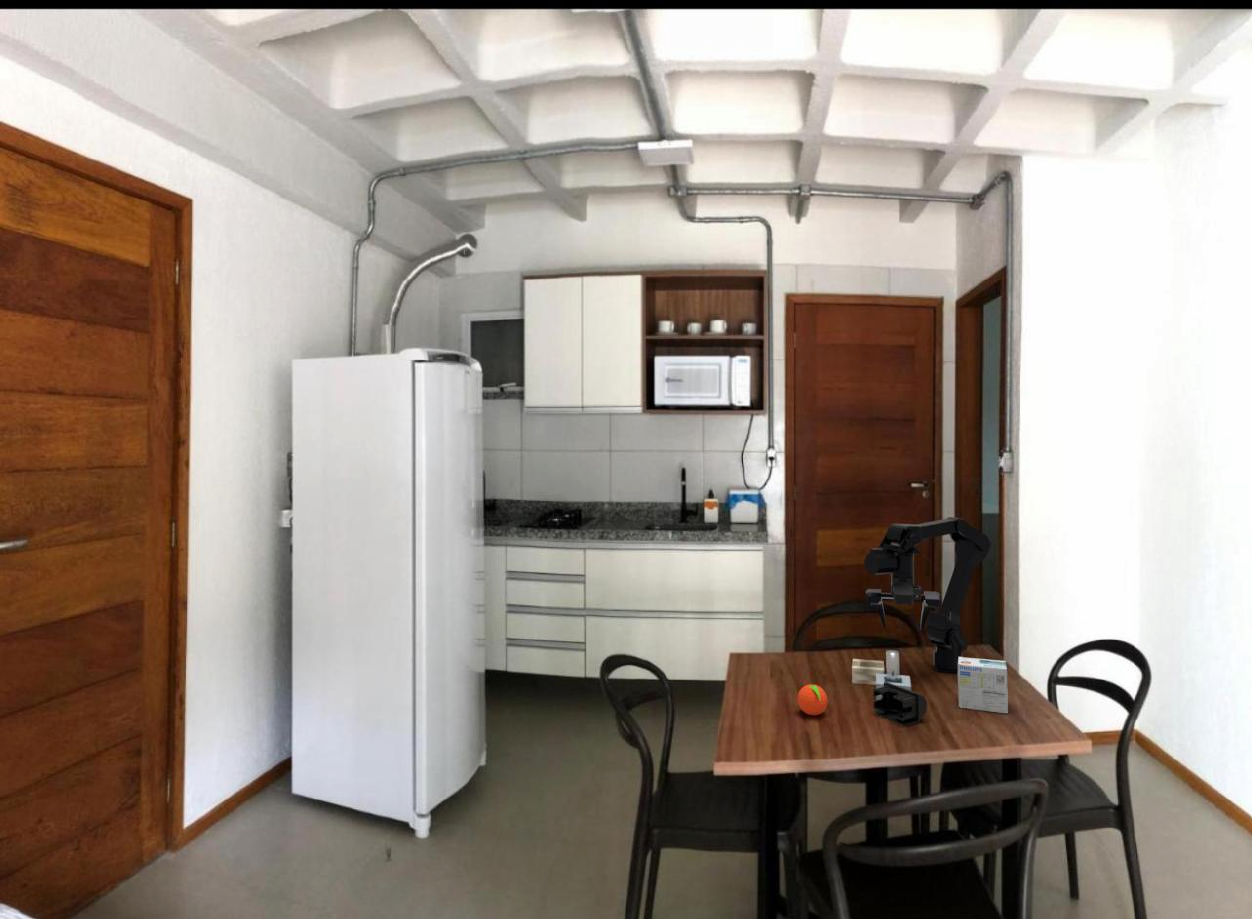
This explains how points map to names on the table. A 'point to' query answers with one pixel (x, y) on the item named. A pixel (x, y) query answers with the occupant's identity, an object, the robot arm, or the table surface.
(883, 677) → the slate block
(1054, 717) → the table surface
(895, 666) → the cylinder
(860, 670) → the birch block
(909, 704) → the end cap
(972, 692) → the light bulb box
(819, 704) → the clementine
